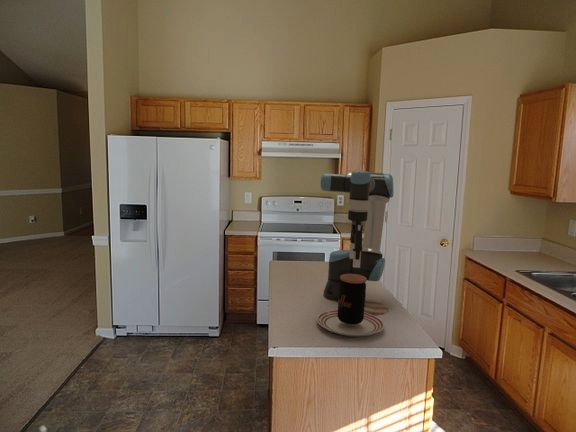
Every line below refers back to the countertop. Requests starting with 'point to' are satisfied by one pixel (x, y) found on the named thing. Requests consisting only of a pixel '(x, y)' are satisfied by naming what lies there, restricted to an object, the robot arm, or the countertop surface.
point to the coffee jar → (351, 298)
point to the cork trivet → (375, 308)
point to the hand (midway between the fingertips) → (354, 262)
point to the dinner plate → (364, 328)
